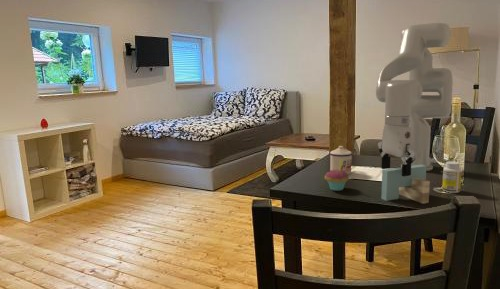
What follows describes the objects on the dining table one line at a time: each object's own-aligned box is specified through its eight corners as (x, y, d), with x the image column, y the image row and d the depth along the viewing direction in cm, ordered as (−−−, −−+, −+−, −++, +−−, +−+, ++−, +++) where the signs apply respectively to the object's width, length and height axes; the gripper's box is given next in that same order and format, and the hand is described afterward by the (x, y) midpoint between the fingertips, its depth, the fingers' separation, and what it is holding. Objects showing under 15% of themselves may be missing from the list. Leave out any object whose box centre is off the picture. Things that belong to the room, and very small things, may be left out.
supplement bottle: (453, 188, 132) (455, 160, 130) (463, 193, 127) (465, 164, 125) (438, 189, 131) (440, 161, 130) (448, 194, 126) (450, 164, 124)
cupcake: (344, 185, 140) (345, 154, 138) (351, 191, 132) (352, 159, 130) (322, 186, 140) (322, 155, 138) (327, 192, 132) (327, 160, 129)
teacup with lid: (343, 177, 151) (343, 149, 149) (325, 173, 158) (325, 146, 156) (360, 171, 159) (360, 144, 157) (342, 168, 166) (342, 142, 164)
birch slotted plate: (388, 189, 133) (389, 171, 131) (394, 189, 133) (394, 170, 132) (422, 203, 118) (423, 182, 116) (428, 202, 118) (429, 181, 117)
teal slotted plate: (419, 192, 129) (421, 164, 127) (424, 194, 126) (426, 165, 125) (381, 198, 124) (382, 169, 122) (386, 200, 121) (387, 171, 120)
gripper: (427, 123, 112) (424, 177, 116) (388, 116, 128) (387, 164, 132) (407, 125, 110) (405, 180, 114) (370, 118, 126) (369, 167, 130)
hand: (395, 171), depth 123 cm, fingers open, 9 cm apart
